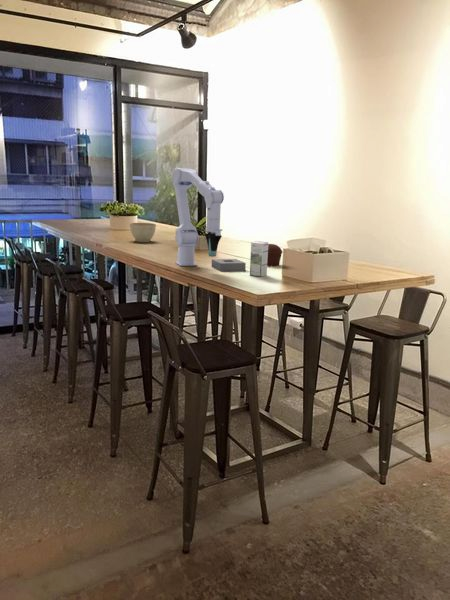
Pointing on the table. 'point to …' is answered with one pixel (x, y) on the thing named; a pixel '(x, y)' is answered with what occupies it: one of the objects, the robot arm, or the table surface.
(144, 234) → the planter bowl
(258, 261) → the syrup box
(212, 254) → the pin
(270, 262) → the muffin
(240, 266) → the socket block
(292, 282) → the table surface
